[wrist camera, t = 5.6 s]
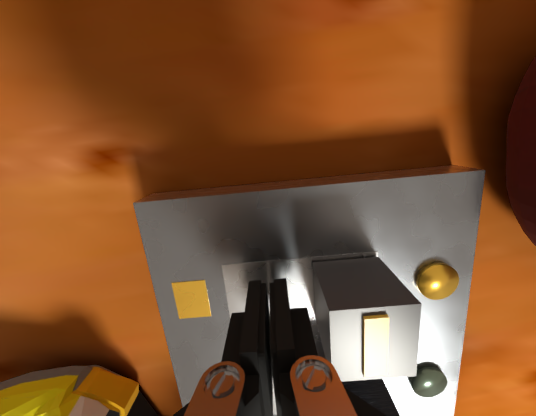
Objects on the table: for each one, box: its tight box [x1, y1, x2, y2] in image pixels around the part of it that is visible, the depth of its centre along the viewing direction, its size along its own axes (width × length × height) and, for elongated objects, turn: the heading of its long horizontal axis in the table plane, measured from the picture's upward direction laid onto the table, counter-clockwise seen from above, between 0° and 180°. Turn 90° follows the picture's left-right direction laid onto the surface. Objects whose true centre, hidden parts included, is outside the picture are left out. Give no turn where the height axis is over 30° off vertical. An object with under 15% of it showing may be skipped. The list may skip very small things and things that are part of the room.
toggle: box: [312, 257, 422, 382], centre depth 10 cm, size 3×3×4 cm
